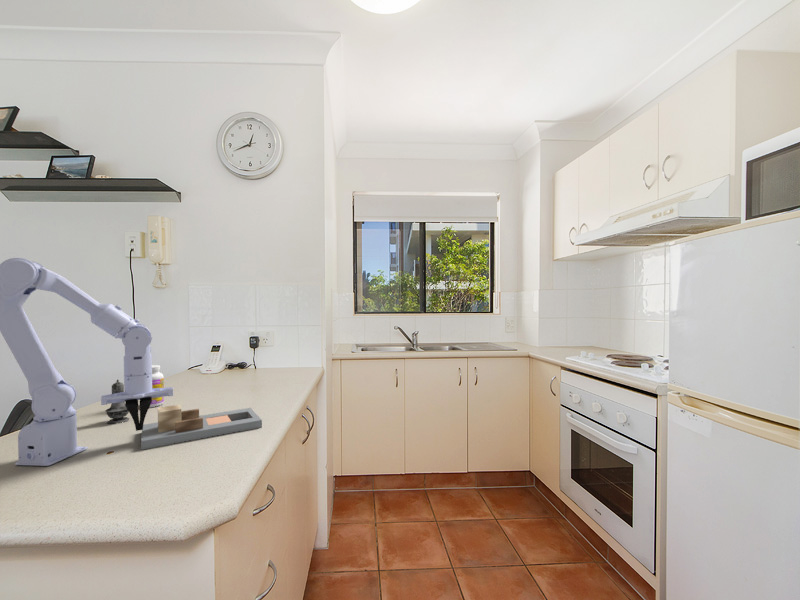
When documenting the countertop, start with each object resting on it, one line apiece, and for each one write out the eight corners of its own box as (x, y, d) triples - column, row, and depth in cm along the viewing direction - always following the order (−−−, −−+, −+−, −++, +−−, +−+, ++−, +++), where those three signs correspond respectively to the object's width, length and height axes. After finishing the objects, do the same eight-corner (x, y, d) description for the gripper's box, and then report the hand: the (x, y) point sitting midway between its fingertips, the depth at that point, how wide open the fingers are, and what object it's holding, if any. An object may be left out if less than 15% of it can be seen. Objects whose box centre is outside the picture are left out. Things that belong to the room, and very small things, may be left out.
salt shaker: (135, 418, 115) (135, 377, 114) (119, 424, 109) (118, 381, 109) (117, 417, 115) (116, 377, 115) (100, 424, 109) (99, 381, 109)
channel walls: (175, 432, 95) (175, 422, 95) (173, 421, 104) (173, 412, 104) (203, 428, 99) (202, 418, 99) (198, 417, 107) (198, 408, 107)
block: (158, 432, 96) (158, 412, 96) (158, 427, 100) (157, 407, 100) (181, 428, 98) (181, 409, 98) (180, 423, 103) (180, 404, 103)
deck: (141, 449, 90) (141, 441, 90) (142, 432, 102) (142, 424, 102) (261, 427, 105) (261, 419, 105) (250, 414, 117) (250, 407, 117)
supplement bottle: (150, 409, 124) (149, 368, 124) (135, 407, 126) (134, 367, 126) (168, 403, 130) (168, 365, 130) (153, 402, 132) (153, 364, 132)
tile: (208, 432, 101) (208, 425, 101) (205, 425, 107) (205, 418, 107) (231, 428, 104) (231, 421, 104) (227, 421, 110) (227, 415, 110)
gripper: (99, 380, 88) (100, 440, 88) (173, 373, 96) (174, 427, 96) (102, 375, 94) (103, 431, 94) (171, 368, 102) (172, 420, 102)
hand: (139, 429), depth 96 cm, fingers closed
